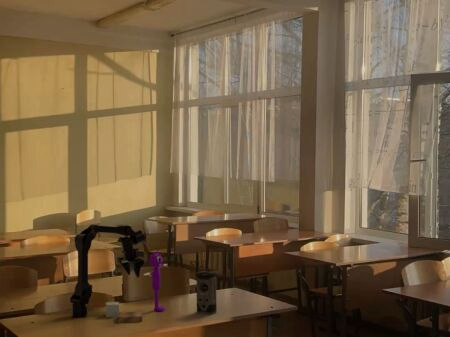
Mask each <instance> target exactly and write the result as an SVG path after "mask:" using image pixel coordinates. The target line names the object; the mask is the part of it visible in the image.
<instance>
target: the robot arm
mask: <svg viewBox="0 0 450 337" xmlns="http://www.w3.org/2000/svg"><path fill="white" fill-rule="evenodd" d="M98 233H104V234H105V233H106V234H114V235H118V236H119V237H118V239H117V243H121V247H122V250H121V253H122V254H123V255H120V256H117V259H116V260H117V261H116V262H117V263H119V266H121V268H122V269H123V270H124V271H125V272H126V274H127V275H128V276H129V275H131V269H132V271H133V273H134V275H135V276H136V278H139V277H140V275H141V274H140V273H141V268H142V266H143V267H144V265H145V264H146V262H145V259H143V258H145V257H146V256H145V255H146V251H145V250H142V249H141V250H139V247H138V248H137V247H135V246H137V245H140V244H142V243H144V242H145V241H146V238H147V237H146V235H145V233H143V231H142V229H138V230H136V231H135V230H133V228H132V226H131V225H130V224H116V225H105V224H104V225H103V224H102V225H101V224H95V223H93V224H90V225H89V226H88V227H87V228H84V229H83V230H82V231H81V232H80V233H78V234H76V235H75V237H74V246H75V249H76V252H77V282H76V285H75V286H74V293H73V294H72V295H70V298H69V301H70V304H72V316H71V318H86V317H87V315H88V304H89V302H90V299H91V297H92V294H93V293H94V292H93V284H90V282H89V251H90V249H91V247H92V242H93V240H94V239H95V238H96V237H97V234H98ZM122 236H123V237H122Z"/></svg>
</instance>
